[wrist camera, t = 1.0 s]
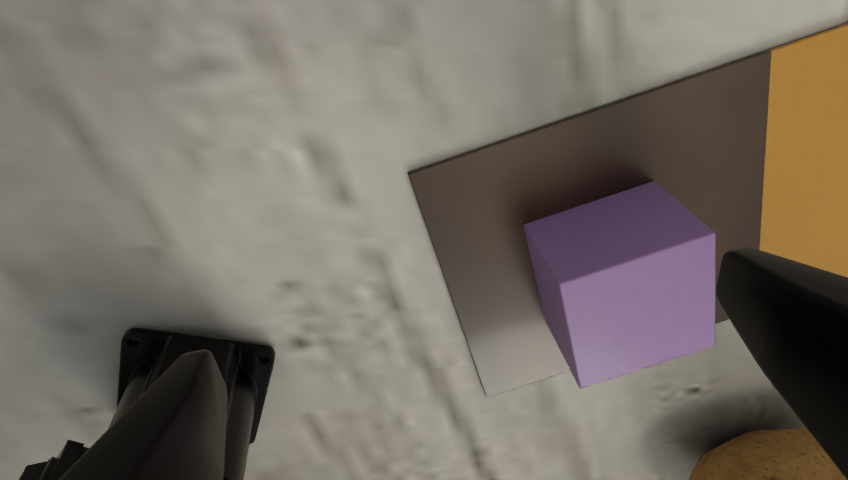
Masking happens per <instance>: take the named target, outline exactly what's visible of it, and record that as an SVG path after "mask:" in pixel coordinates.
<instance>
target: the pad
mask: <svg viewBox="0 0 848 480" xmlns="http://www.w3.org/2000/svg"><path fill="white" fill-rule="evenodd" d="M768 51H771V62H770V79H769V96H768V113H767V129H766V146H765V163H764V179H763V196H762V213H761V230H760V246H759V250H761V251H765V252H768V253H771V254H774V255H777V256H781V257H784V258H787V259H790V260H793V261H797V262H800V263H803V264H806V265H809V266H813V267H816V268H819V269H822V270H826V271H829V272H832V273H835V274H838V275H842V276H845V277H848V23H847V24H844V25H841V26H838V27H835V28H832V29H829V30H826V31H823V32H820V33H818V34H815V35H812V36H809V37H806V38H803V39H800V40H797V41H794V42H791V43H788V44H785V45H782V46H779V47H776V48H774V49H771V50H768Z"/></svg>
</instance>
